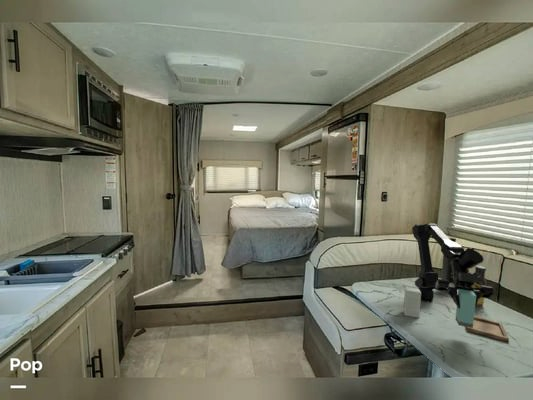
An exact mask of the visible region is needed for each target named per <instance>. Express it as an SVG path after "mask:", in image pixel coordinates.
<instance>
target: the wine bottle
mask: <svg viewBox="0 0 533 400" xmlns="http://www.w3.org/2000/svg"><path fill="white" fill-rule="evenodd" d="M448 238H449V239H450V240H451V241H453V242H455V243H457V242H456V241H457V239H456V237H455V238H453V237H448ZM454 259H459V258H446V257H445V256H444V255H442V266H441V267H442V268H441V278H440V279H443V280H449V283H452V284H454V279H453V270H452V266H449V264H450V262H451V261H452V260H454ZM444 292H446V290H445V291H444Z"/></svg>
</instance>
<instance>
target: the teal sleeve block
mask: <svg viewBox="0 0 533 400" xmlns="http://www.w3.org/2000/svg"><path fill="white" fill-rule="evenodd" d="M457 294H458V298H459V302H460V308H458V307H457V306H456V310H455V311H456V312H455V321H456V323H457V325H458V326H462V327H465V328H466V327H470V328H473V321H474V316H475V311H476V310H475V303H476V295H475V294H474V293H473V291H469V290H462V289H459V290H457Z"/></svg>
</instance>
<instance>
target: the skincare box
mask: <svg viewBox="0 0 533 400" xmlns="http://www.w3.org/2000/svg"><path fill="white" fill-rule="evenodd" d="M403 299H404V301H403V313H404V316H406V317H412V318H417V319H418V318H420V316H421V315H420V314H421V301H422V300H421V292H420V290H419V289H418V288H413V287H406V286H404V298H403Z"/></svg>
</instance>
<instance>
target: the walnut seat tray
mask: <svg viewBox="0 0 533 400" xmlns="http://www.w3.org/2000/svg"><path fill="white" fill-rule="evenodd" d="M465 330H466V332H469V333H472V334H476V335H480V336H484V337H487V338H491V339H495V340H498V341H503V342H505V343H509V341H510V337H509V335H508V333H507V332H506V329H505V327H504V325H503V323H502V322H498V321H495V320H491V319H486V318H483V317H478V316H476V315H474V321H473V328H470V327H465Z"/></svg>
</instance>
